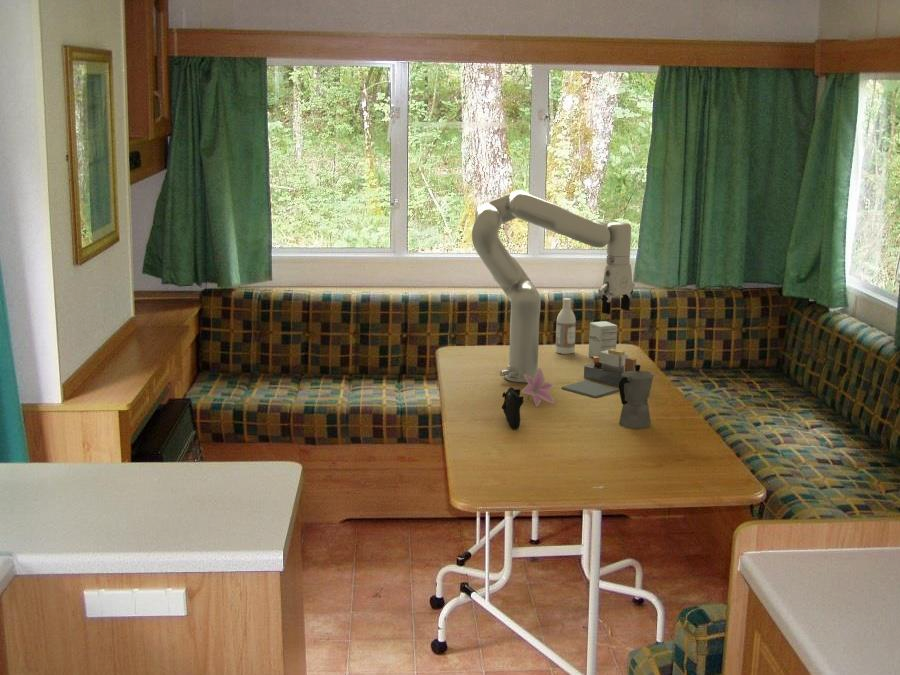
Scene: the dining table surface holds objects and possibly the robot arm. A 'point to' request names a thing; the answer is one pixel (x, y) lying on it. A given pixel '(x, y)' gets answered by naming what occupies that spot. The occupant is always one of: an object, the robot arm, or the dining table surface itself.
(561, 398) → the dining table surface
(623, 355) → the lever cap
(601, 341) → the supplement box
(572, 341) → the bath foam
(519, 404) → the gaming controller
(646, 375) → the coffeepot
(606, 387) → the mat
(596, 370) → the plane body
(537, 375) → the lily
